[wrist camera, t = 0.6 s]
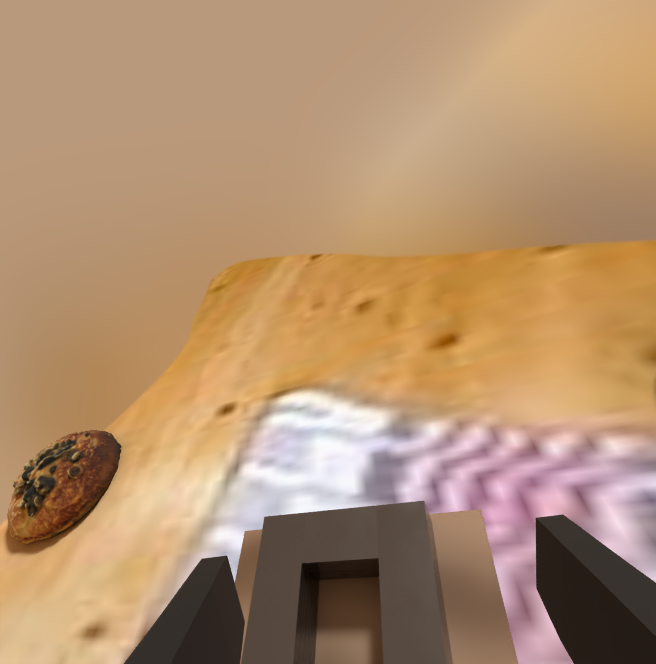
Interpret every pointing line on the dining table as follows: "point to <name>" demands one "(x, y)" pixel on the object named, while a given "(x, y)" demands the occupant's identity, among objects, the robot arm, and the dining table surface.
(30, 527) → the bread roll
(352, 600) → the walnut board
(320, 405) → the dining table surface
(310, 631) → the socket block
